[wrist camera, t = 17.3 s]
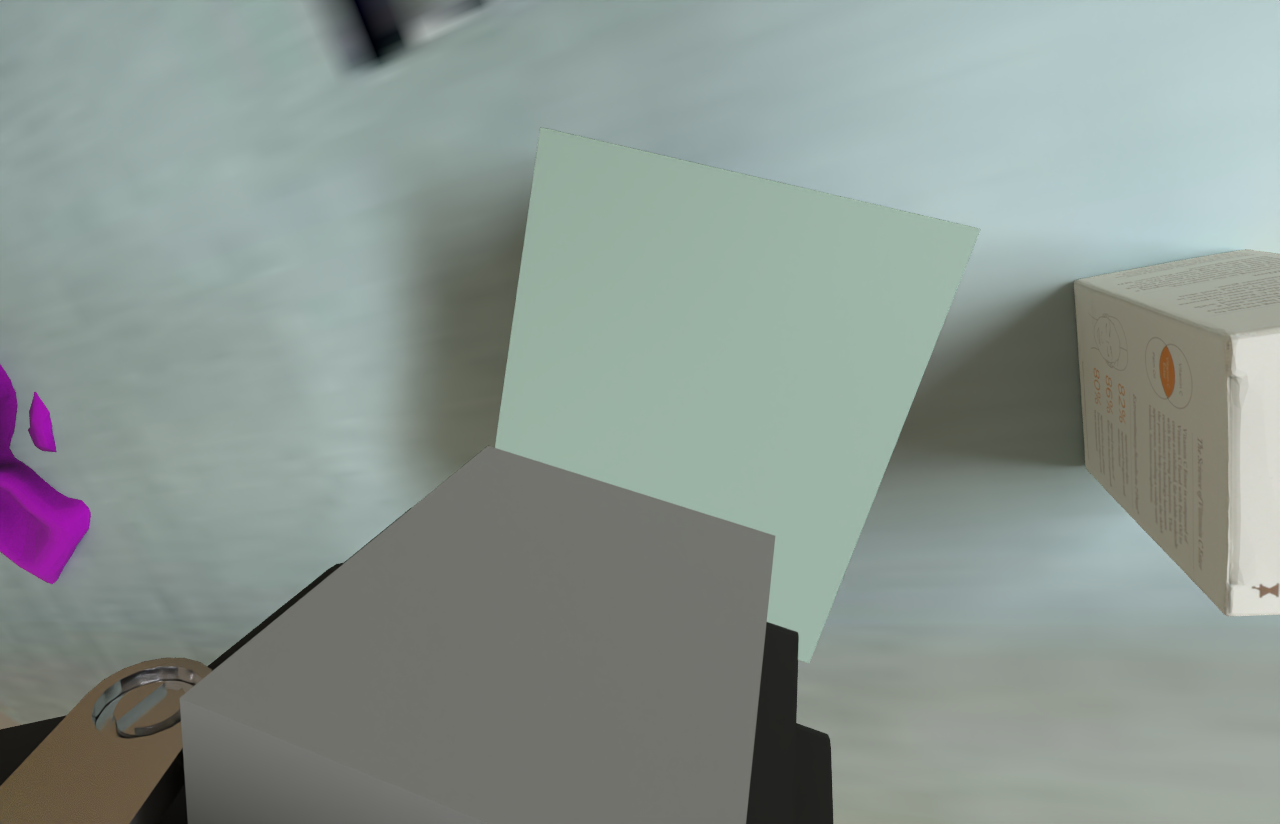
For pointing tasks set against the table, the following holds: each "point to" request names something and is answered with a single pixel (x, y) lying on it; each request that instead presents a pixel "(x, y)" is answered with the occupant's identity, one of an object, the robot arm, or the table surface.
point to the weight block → (500, 668)
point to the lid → (724, 347)
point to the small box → (1191, 414)
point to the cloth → (34, 498)
